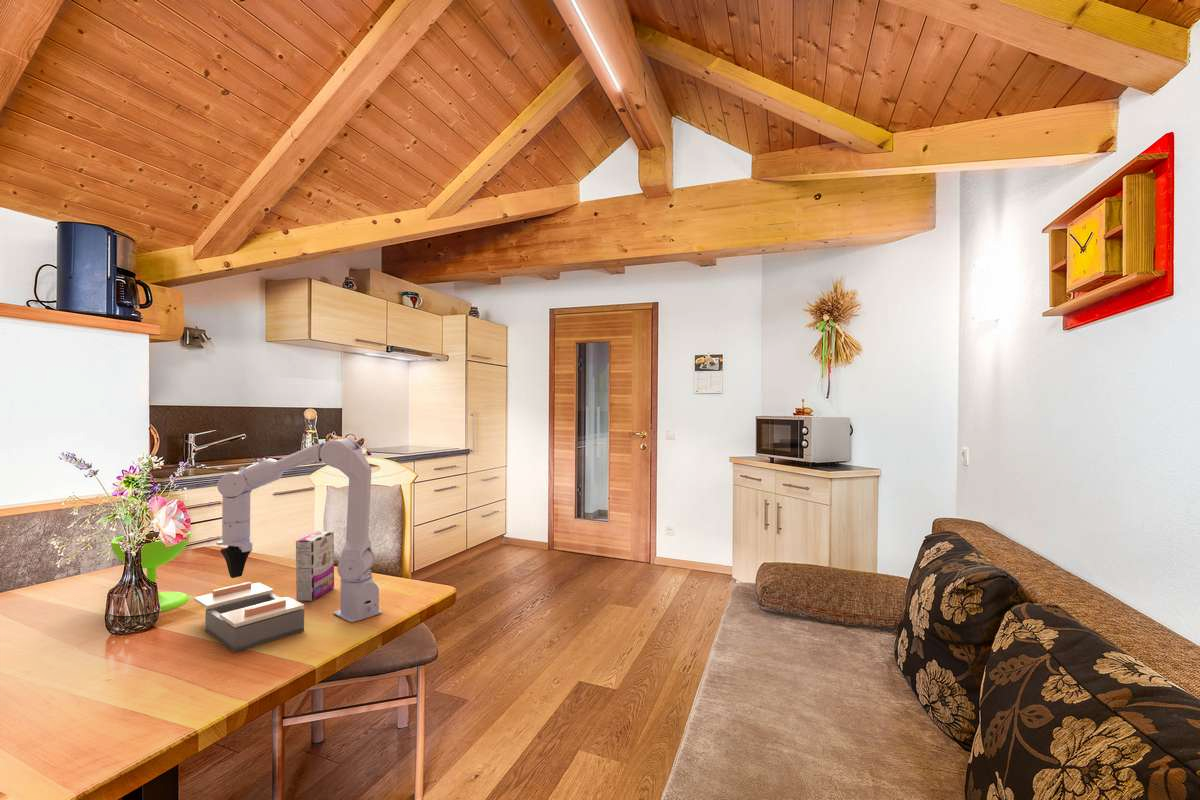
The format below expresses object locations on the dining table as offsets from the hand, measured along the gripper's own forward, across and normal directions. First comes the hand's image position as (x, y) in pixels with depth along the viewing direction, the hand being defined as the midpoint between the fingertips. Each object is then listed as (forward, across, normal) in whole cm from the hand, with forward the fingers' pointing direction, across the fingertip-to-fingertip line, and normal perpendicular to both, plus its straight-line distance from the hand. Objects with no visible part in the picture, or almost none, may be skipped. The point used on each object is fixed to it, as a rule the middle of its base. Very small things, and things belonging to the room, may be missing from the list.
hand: (236, 576), depth 132 cm
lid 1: (+5, -1, 0) cm, 5 cm away
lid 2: (+5, +16, 0) cm, 17 cm away
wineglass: (+10, -28, -10) cm, 32 cm away
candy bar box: (+11, -2, +20) cm, 23 cm away
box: (+10, +12, 0) cm, 16 cm away
